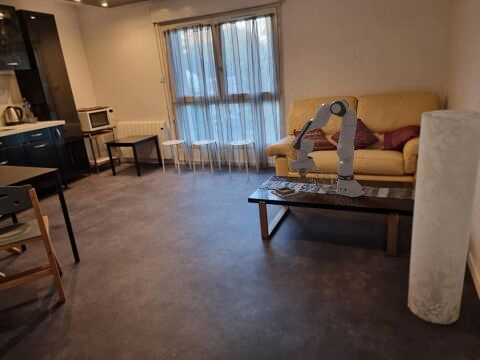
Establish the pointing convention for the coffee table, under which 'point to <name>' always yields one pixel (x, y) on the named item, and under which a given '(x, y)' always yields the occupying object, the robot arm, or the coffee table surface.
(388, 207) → the coffee table surface
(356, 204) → the coffee table surface
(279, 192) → the pocket board
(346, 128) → the robot arm
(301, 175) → the bobbin
